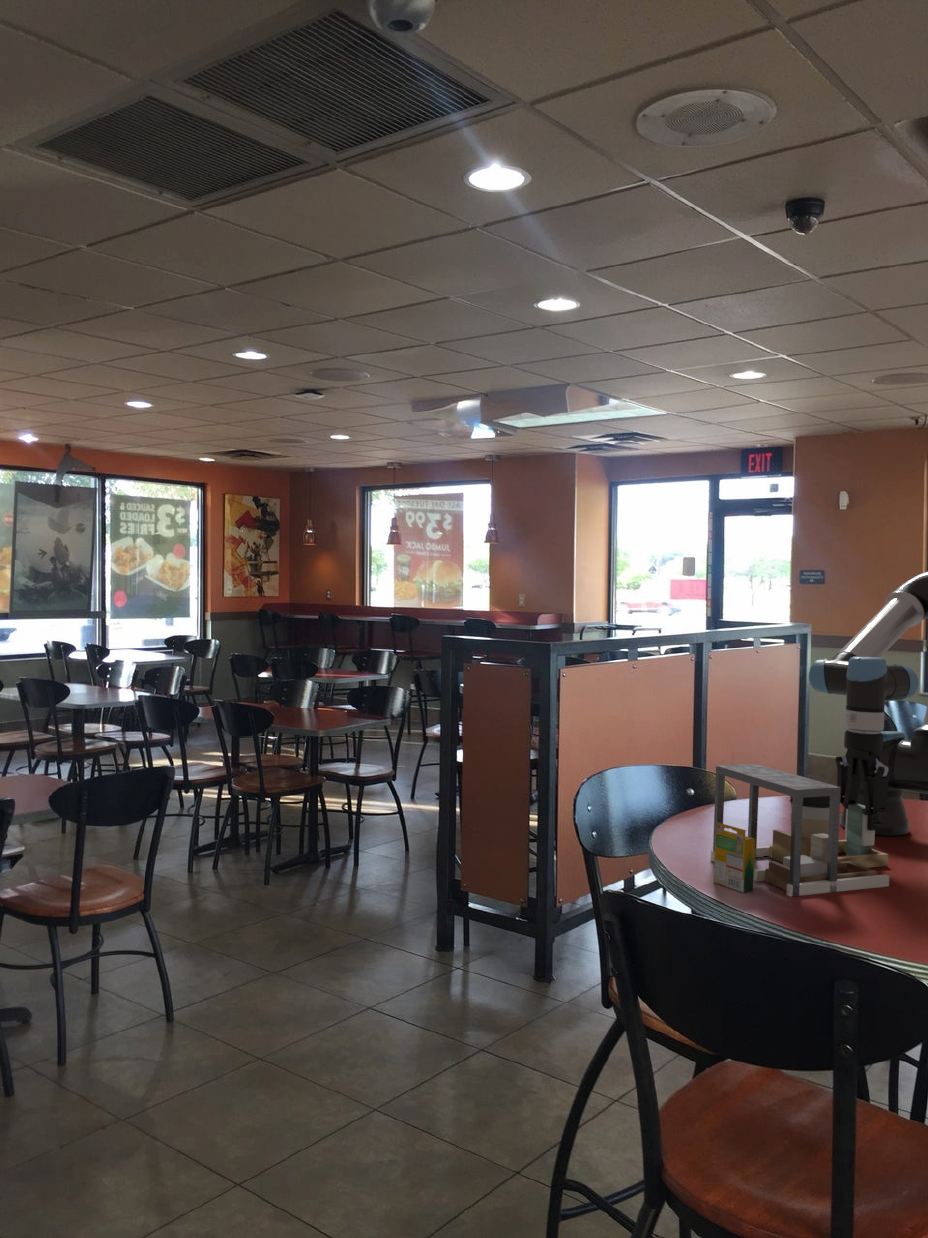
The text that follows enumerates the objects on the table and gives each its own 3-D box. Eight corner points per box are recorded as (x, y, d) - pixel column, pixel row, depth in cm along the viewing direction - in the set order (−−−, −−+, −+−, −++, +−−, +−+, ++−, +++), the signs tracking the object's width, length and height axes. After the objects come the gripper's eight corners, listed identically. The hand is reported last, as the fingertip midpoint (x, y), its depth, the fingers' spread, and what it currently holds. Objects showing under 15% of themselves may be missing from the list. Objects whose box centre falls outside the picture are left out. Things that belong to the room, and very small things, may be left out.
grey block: (803, 880, 189) (804, 855, 189) (821, 888, 184) (822, 862, 184) (782, 883, 187) (783, 857, 187) (800, 890, 183) (801, 864, 183)
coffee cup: (837, 872, 196) (840, 797, 195) (789, 867, 198) (792, 793, 197) (830, 860, 204) (833, 788, 204) (785, 856, 206) (788, 785, 206)
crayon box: (754, 891, 181) (756, 828, 181) (743, 893, 180) (745, 830, 179) (723, 880, 188) (726, 820, 187) (712, 882, 186) (715, 821, 186)
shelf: (753, 856, 205) (756, 763, 205) (836, 891, 182) (840, 787, 182) (712, 860, 202) (716, 765, 201) (792, 896, 179) (796, 789, 178)
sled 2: (848, 873, 195) (850, 828, 194) (877, 884, 188) (879, 837, 187) (765, 881, 188) (766, 834, 187) (791, 893, 180) (793, 844, 180)
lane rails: (801, 852, 210) (801, 843, 210) (888, 886, 187) (889, 875, 187) (710, 860, 201) (710, 850, 201) (790, 896, 179) (790, 885, 178)
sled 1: (845, 850, 212) (847, 800, 212) (887, 866, 201) (890, 812, 200) (769, 857, 205) (771, 804, 204) (808, 873, 194) (810, 818, 193)
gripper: (821, 725, 211) (816, 833, 212) (880, 737, 195) (875, 854, 196) (848, 724, 214) (844, 831, 215) (909, 736, 198) (904, 851, 199)
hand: (859, 842), depth 206 cm, fingers closed on sled 1, 4 cm apart
